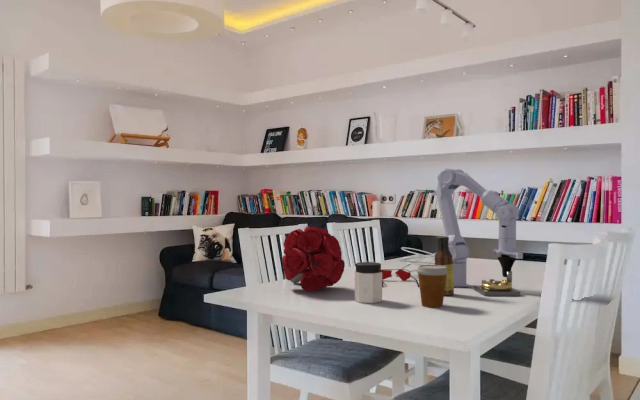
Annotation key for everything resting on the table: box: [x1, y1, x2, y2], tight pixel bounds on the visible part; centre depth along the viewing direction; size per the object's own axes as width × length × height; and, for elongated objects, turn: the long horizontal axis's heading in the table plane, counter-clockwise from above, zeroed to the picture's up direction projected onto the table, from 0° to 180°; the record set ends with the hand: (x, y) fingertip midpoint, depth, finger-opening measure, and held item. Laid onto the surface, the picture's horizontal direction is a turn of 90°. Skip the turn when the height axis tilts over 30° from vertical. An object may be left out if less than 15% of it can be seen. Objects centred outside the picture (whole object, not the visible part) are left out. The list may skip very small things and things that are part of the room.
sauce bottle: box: [434, 235, 455, 297], centre depth 176 cm, size 6×6×20 cm
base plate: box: [473, 285, 521, 297], centre depth 179 cm, size 12×12×2 cm
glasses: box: [381, 268, 420, 288], centre depth 198 cm, size 14×16×5 cm
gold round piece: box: [481, 270, 513, 291], centre depth 179 cm, size 10×10×6 cm
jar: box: [354, 261, 383, 304], centre depth 165 cm, size 9×8×12 cm
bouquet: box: [281, 225, 346, 292], centre depth 188 cm, size 22×24×30 cm
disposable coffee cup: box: [415, 264, 448, 308], centre depth 158 cm, size 10×10×12 cm
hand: (506, 276), depth 180 cm, fingers closed, pressing on gold round piece
